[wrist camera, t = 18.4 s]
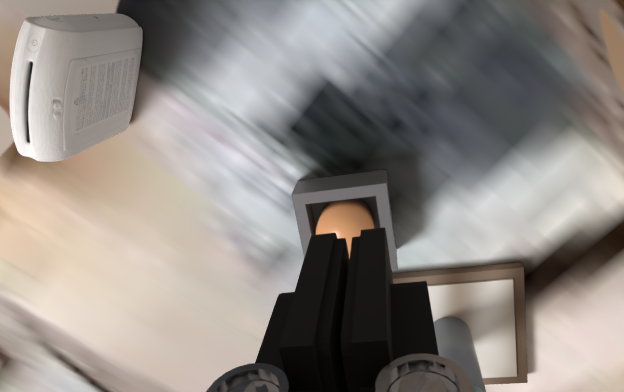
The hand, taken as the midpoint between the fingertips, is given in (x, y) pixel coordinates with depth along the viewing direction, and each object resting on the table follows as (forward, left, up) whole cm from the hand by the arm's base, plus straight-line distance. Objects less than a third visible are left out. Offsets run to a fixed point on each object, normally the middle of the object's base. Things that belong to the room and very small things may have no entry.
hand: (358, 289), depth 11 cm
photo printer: (+22, -4, -32) cm, 39 cm away
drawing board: (-4, +25, -32) cm, 41 cm away
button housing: (+4, +12, -32) cm, 35 cm away
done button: (+4, +12, -31) cm, 33 cm away
